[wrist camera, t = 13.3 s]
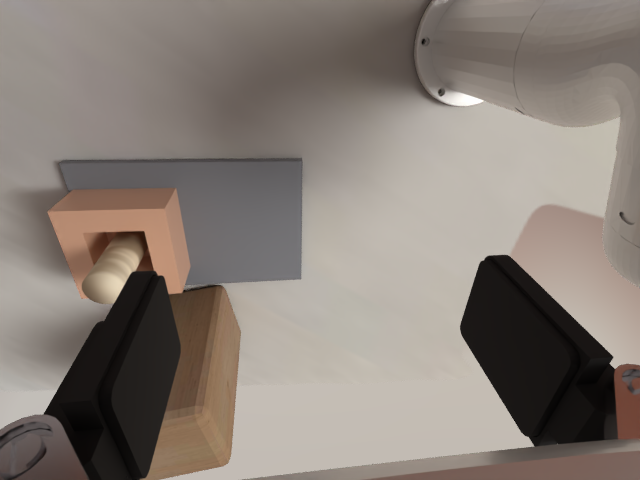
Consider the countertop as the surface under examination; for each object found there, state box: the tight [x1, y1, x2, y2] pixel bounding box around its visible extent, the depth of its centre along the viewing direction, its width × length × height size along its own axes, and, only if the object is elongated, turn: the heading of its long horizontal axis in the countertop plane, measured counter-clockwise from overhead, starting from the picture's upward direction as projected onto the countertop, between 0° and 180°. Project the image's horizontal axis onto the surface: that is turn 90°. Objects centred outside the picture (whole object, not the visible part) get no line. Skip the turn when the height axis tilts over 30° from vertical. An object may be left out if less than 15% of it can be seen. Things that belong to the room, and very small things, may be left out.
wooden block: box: [140, 286, 241, 480], centre depth 44 cm, size 10×10×20 cm
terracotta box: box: [47, 188, 191, 299], centre depth 41 cm, size 11×11×6 cm
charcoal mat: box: [59, 159, 302, 285], centre depth 45 cm, size 26×17×1 cm, turn 88°
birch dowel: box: [82, 231, 148, 304], centre depth 38 cm, size 4×4×10 cm
